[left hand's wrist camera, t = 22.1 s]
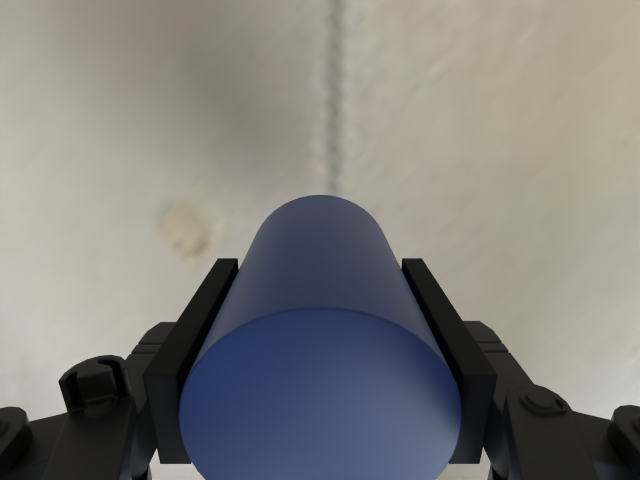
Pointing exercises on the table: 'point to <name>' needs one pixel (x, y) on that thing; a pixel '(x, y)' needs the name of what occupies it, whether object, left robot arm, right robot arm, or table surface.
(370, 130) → the table surface
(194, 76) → the table surface
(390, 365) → the canister
